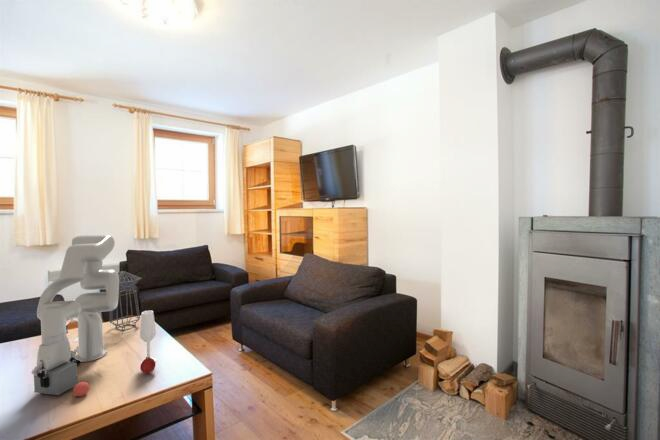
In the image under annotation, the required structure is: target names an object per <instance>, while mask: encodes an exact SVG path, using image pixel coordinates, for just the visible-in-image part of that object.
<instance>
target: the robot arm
mask: <svg viewBox="0 0 660 440" xmlns="http://www.w3.org/2000/svg"><path fill="white" fill-rule="evenodd" d="M114 247H115V239H114V237H113V236H112V235H110V234H109V235H108V234H97V235H96V234H94V235H93V234H92V235H91V234H90V235H88V234H87V235H78V236H74V237H73V238H72V240H71V245H69V246H68V247H67V248H66V251H65V254H64V257H63V261H62V266H61V269H60V272H59V273H60V274H59V276H58V277H57V278H56V279H55V280H53V281H52V282H51V283H49V285H48V286H47V287H46V288H45V289H44V290H43V292H42V293H41V295H40V297H39V301H38V305H37V309H36V316H37V319H38V320H40V331H41V333H40V334H41V336H40V337H41V343H40V345H39V346H38V350H37V356H36V359H37V360H36V366H35V367H34V368H33V369H32V371H31V375H33V376H34V375H35V376H36V377H38V378H40V385H41V387H45V388H48V387H49V377H47V376H48V372H49V371H50V370H51V369H53V368H55V367H58V366H60V365H62V364H64V363H67V362H70V363H73V362H74V360H75V359H77V360H80V362H79V363H87V362H88V363H89V362H93V361H96V360H98V359H101V358H103V357H104V356H106V355H107V353H108V350H107V349H106V348H104V338H103V335H104V334H103V318H102V317H101V315H100V314H99V313H101V312H104V313H105V312H110V311H111V312H112V310H113V311H115V310H117V305H119V294H120V292H119V291H120V285H119V283H120V282H119V280H120V277H119V275H118V273H119V272H118V271H116V270H114V269H103V260H105V258H107V257H108V255H109V254H110V253H111V252H112V251H113V249H114ZM78 283H80V288H81V289H82V290H85V291H95V290H105V291H96V292H86V293H82V294H79V295H78V296H77V297H76V298H75V299H74V300H65V301H64V300H60V301H57V300H56V301H53V300H54V298H55V297H56V295H57V294H58V293H59V292H61V291H62V290H65V288H68V287H70V286H73V285H75V284H78ZM72 319H77V330H78V331H77V332H78V333H77V335H78V336H77V337H78V346H76V347H75V349H73V350H71V344H70V340H69V338H68V337H67V334H69V330H67V321H70V320H72ZM39 370H41V371H40V372H39ZM44 371H45V373H44Z"/></svg>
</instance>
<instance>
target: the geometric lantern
mask: <svg viewBox="0 0 660 440" xmlns="http://www.w3.org/2000/svg"><path fill="white" fill-rule="evenodd" d="M117 273H118V275H119V286H120V287H122V288H123V289H122V290H119V296H118V299H119V304H118V305H119V307H120V316H121V317H120V318H119V317H118V315H119V314H118V313H119V312H118V309H119V308H118V305H117V307H116V319H113V311H114V310H112V311H109V323H110V324H112V325H114V326H115V329H116V330H119V331H123V332H124V331H127V330H129V329H134V328H135V327H137V324H136V323H137V322H139V320H141V315H140V309H139V300H138V299H139V298H138V293H137V292H138V290H136V289H135V288H134V286H136V284H138V282H139V281H140V280H142V279H143V278H142V277H140V276H138V275H135V274H133V273H130V272H128V271H126V270H125V271H123V270H121V271H119V272H117ZM126 280H127V281H126ZM126 283H130V285H127V284H126ZM123 284H124V285H123ZM133 285H134V286H133ZM126 288H129V289H126ZM122 292H125V293H124V294H122ZM131 294H133V297H134V303H135V311H136V315H133V306H132V299H131ZM128 295H129V302H130V303H129V304H130V311H131V315H129V311H128V307H129V306H128ZM121 296H125V298H126V299H125V300H126V316H123V311H122V310H123V309H122V308H123V307H122V299H121ZM129 317H130V318H129ZM125 318H126V321H124V320H123V319H125ZM128 318H129V319H128ZM133 318H137V319H134V320H132V319H133ZM119 320H121V323H119ZM115 321H116V323H115ZM128 326H132V327H129V328H126V327H128ZM120 328H121V329H120Z"/></svg>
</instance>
